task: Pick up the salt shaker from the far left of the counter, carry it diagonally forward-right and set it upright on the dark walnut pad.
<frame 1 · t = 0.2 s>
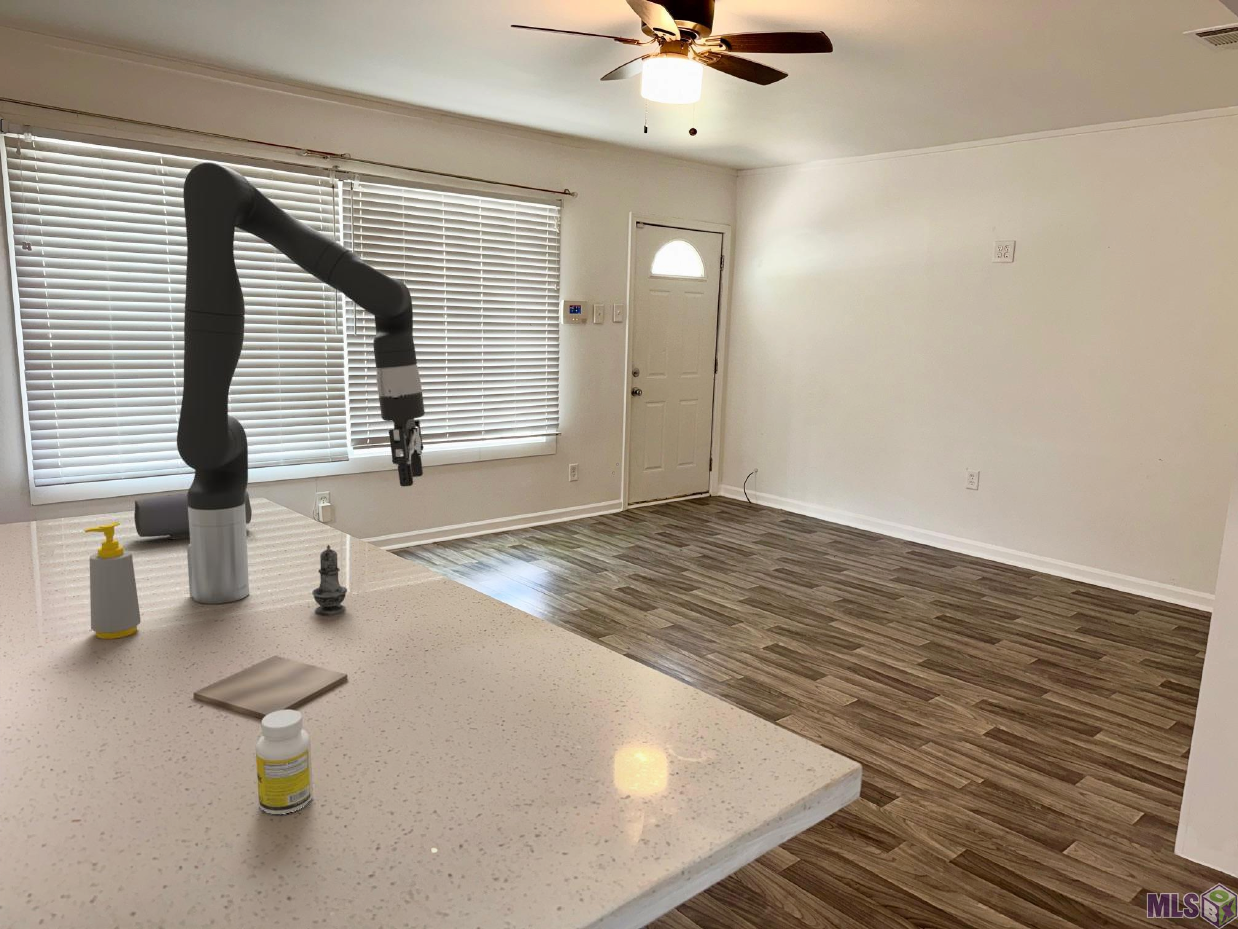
hand: (412, 480, 147), 22 cm above the countertop, tool pointing down, fingers open, 8 cm apart
bluetooth speaker: (195, 535, 188), on the countertop
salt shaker: (330, 611, 144), on the countertop
walnut pad: (273, 688, 114), on the countertop
soap bottle: (116, 633, 131), on the countertop
supplement bottle: (285, 803, 88), on the countertop
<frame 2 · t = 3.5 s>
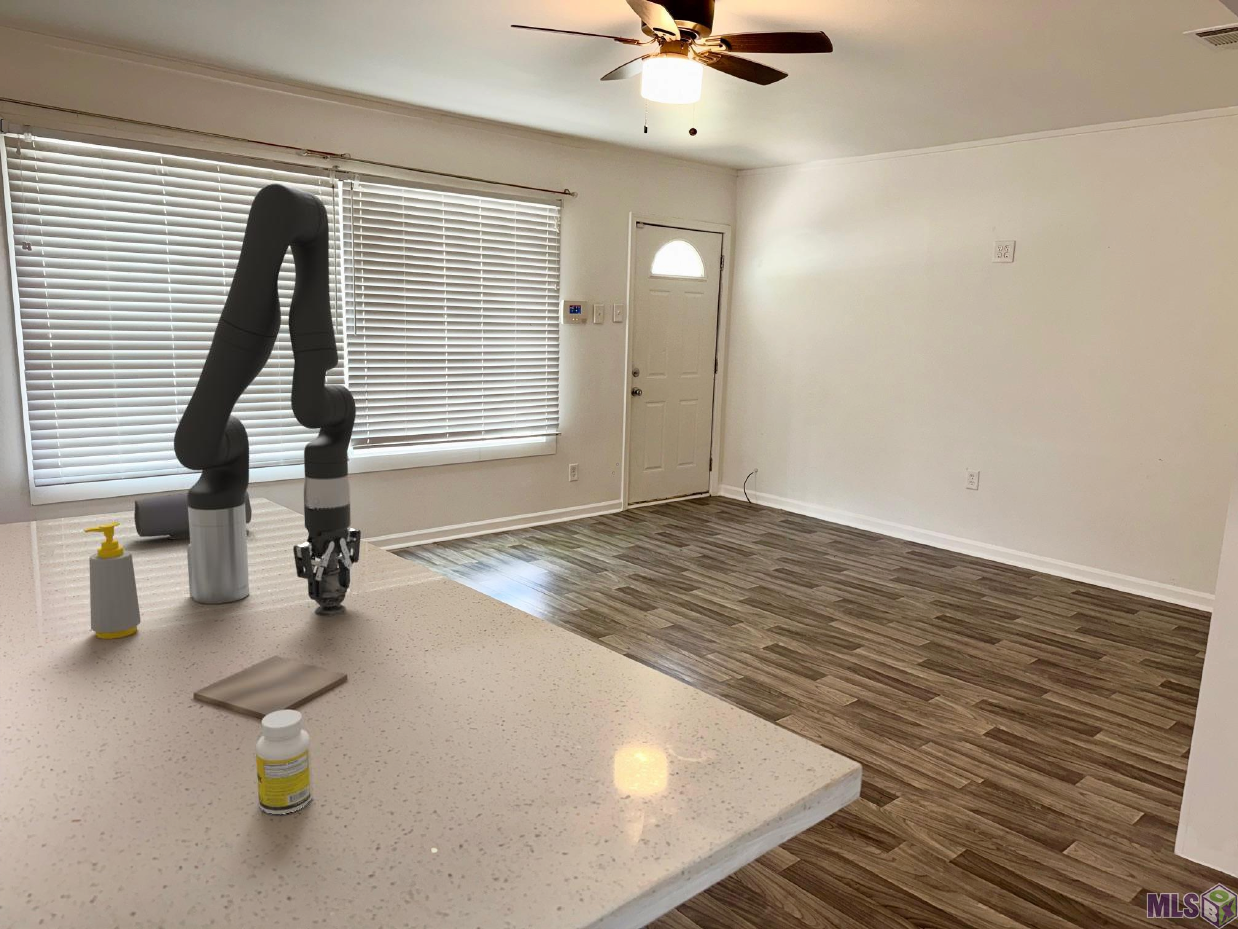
hand: (329, 593, 143), 3 cm above the countertop, tool pointing down, fingers closed on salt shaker, 6 cm apart
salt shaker: (330, 611, 144), on the countertop, touching gripper
everything else where it was.
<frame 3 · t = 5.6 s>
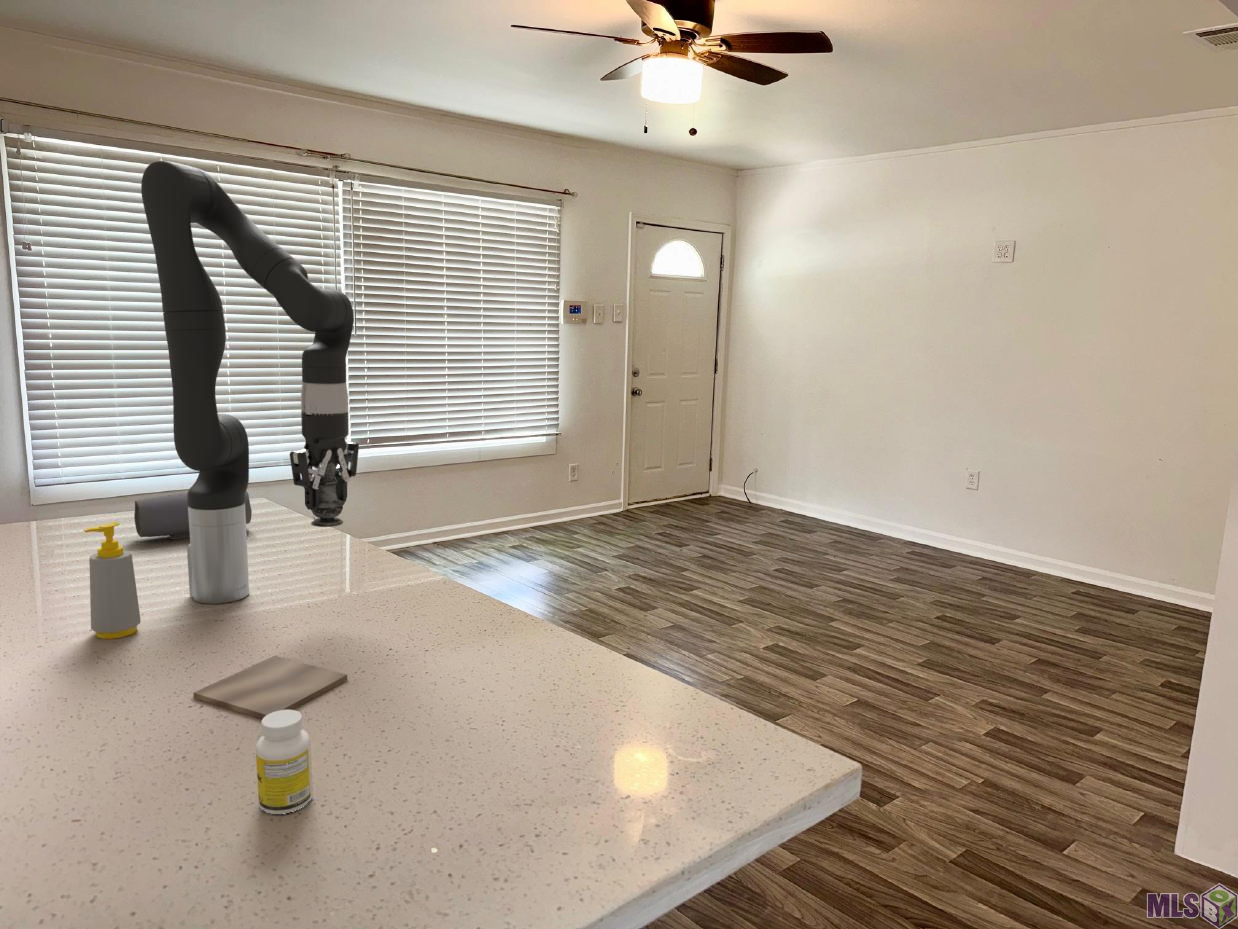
hand: (326, 505, 141), 19 cm above the countertop, tool pointing down, fingers closed on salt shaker, 6 cm apart
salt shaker: (327, 524, 141), point 16 cm above the countertop, touching gripper
everything else where it was.
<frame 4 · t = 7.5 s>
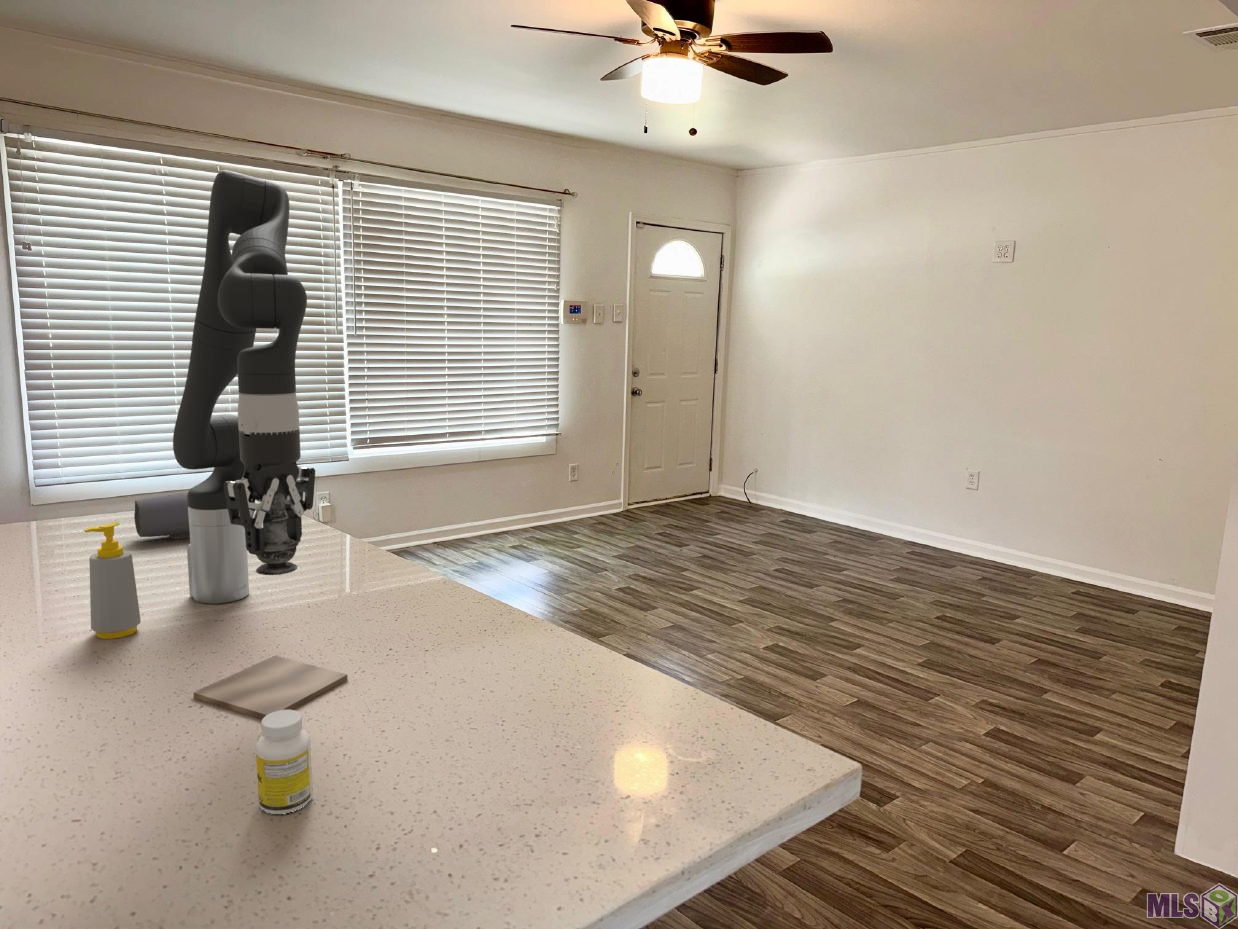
hand: (275, 547, 112), 20 cm above the countertop, tool pointing down, fingers closed on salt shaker, 6 cm apart
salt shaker: (276, 570, 112), point 17 cm above the countertop, touching gripper
everything else where it was.
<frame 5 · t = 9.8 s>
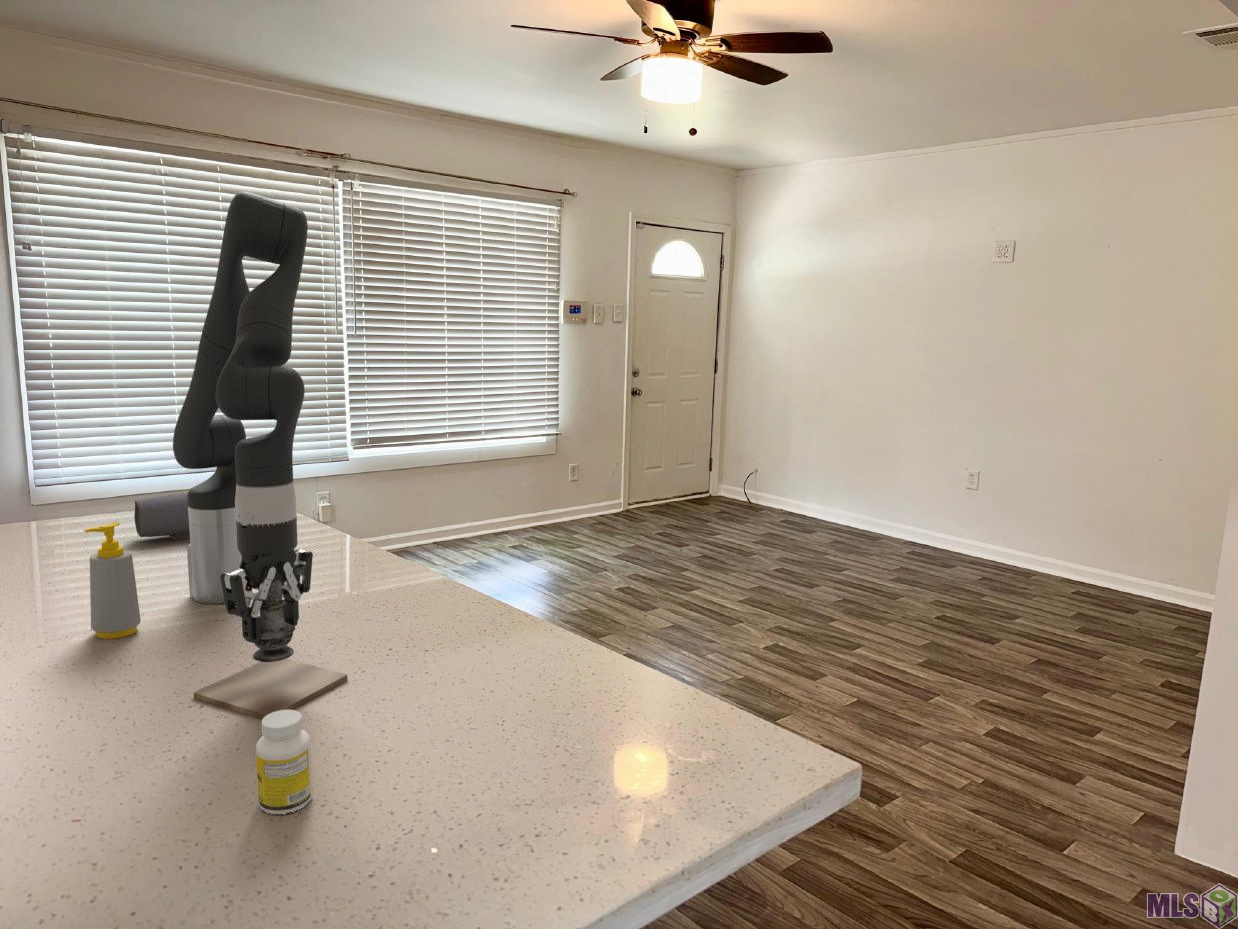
hand: (271, 633, 112), 8 cm above the countertop, tool pointing down, fingers closed on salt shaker, 6 cm apart
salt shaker: (273, 655, 113), point 5 cm above the countertop, touching gripper
everything else where it was.
when the fingers open (5 cm above the countertop, at t = 11.4 s): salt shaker drops 1 cm, resting on walnut pad.
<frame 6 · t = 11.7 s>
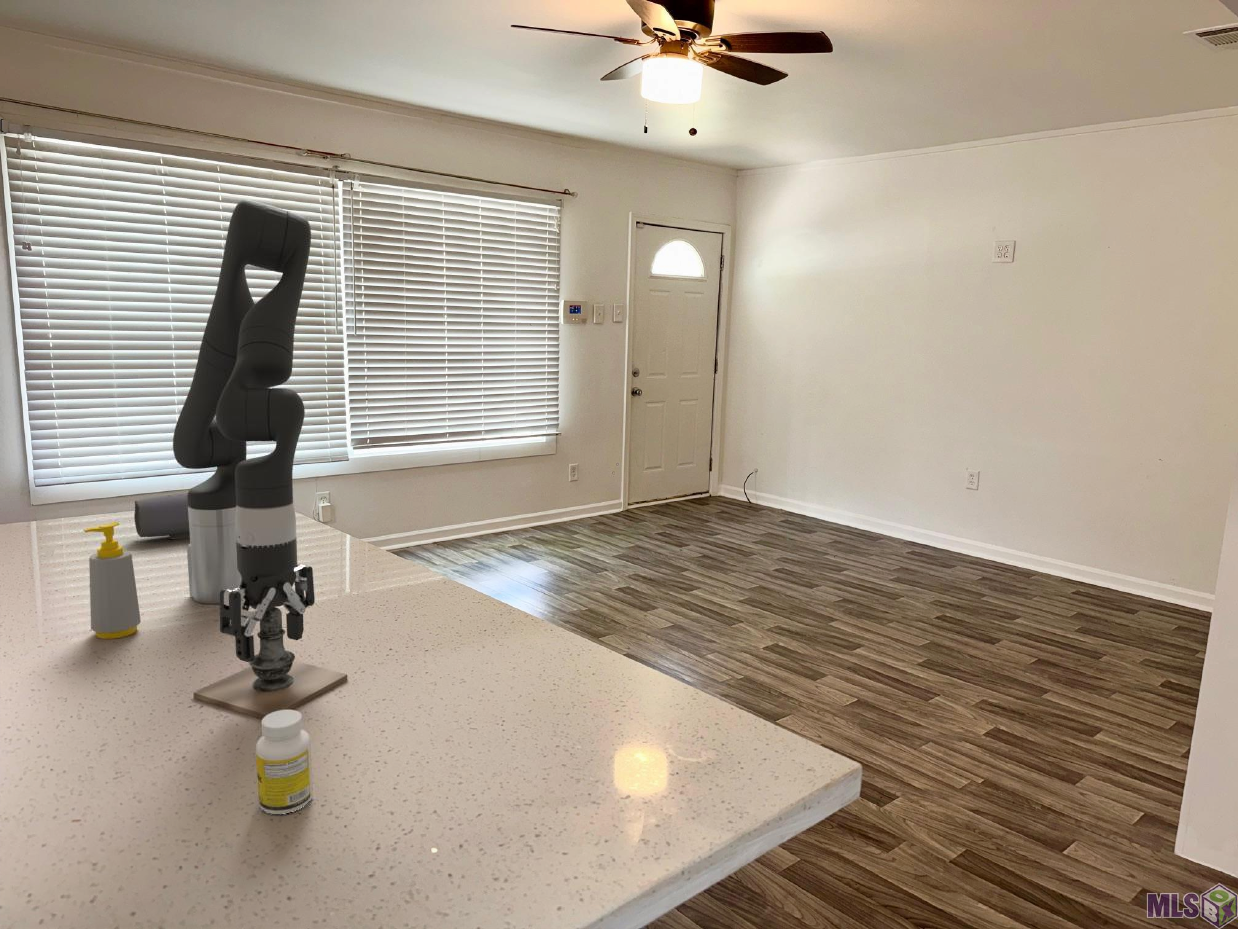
hand: (271, 649, 113), 6 cm above the countertop, tool pointing down, fingers open, 8 cm apart
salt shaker: (273, 684, 114), point 1 cm above the countertop, touching walnut pad
everything else where it was.
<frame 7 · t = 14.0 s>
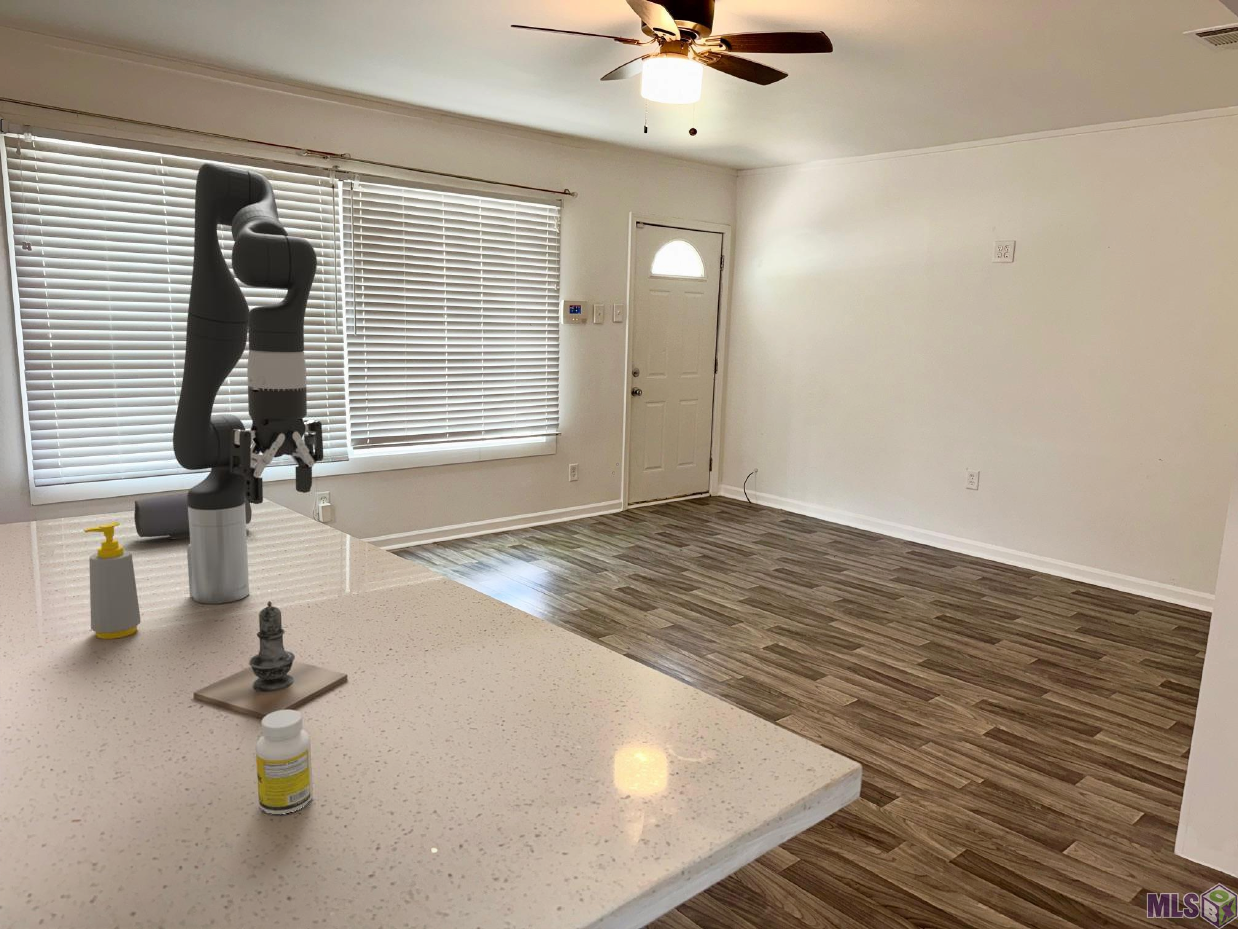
hand: (279, 497, 116), 26 cm above the countertop, tool pointing down, fingers open, 8 cm apart
nothing on the countertop moved.
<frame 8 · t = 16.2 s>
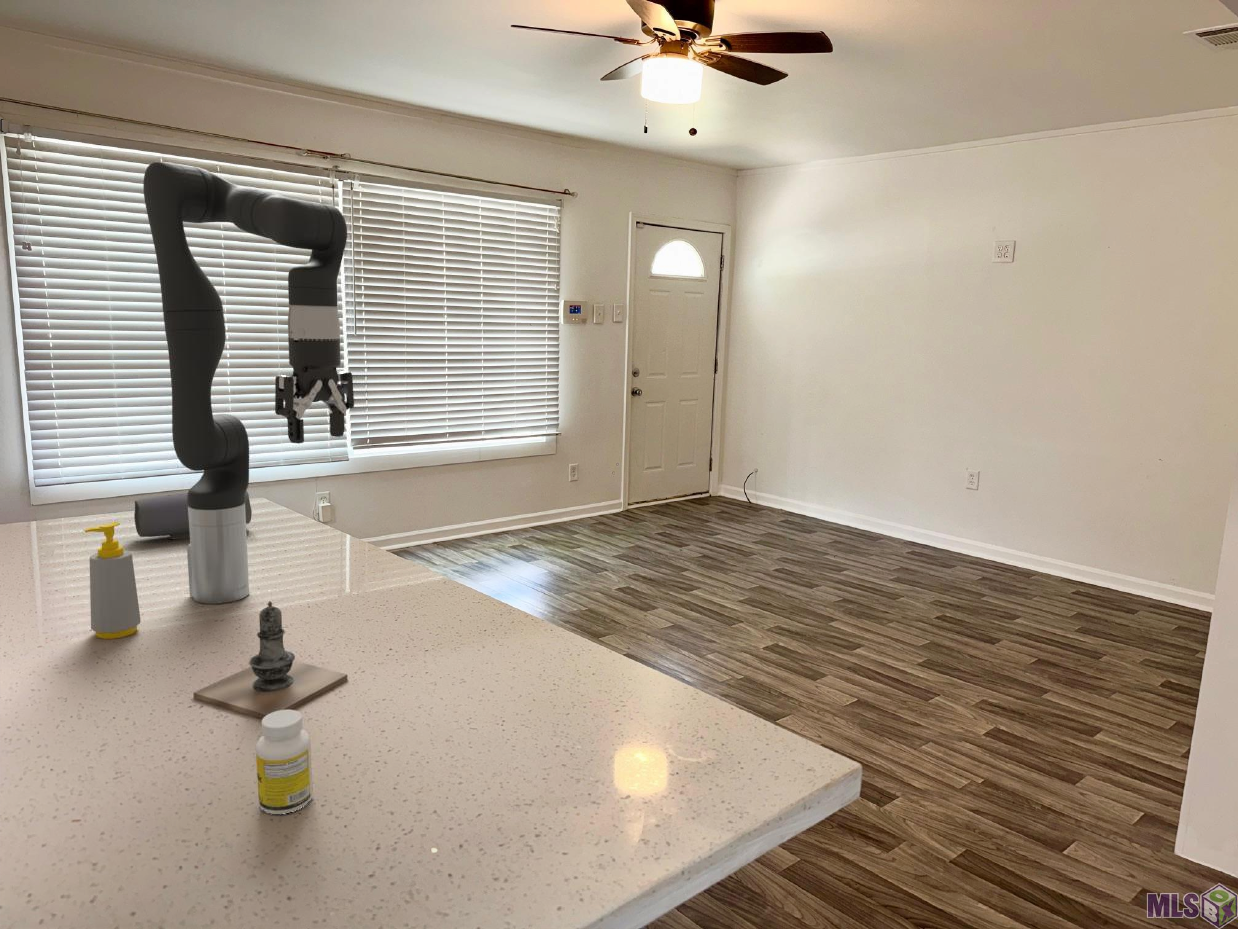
hand: (317, 439, 129), 32 cm above the countertop, tool pointing down, fingers open, 8 cm apart
nothing on the countertop moved.
at the end: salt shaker inside the target area on the walnut pad (0.1 cm from its centre), point 0.6 cm above the walnut pad's base; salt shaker tilted 0°; the gripper is holding nothing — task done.
